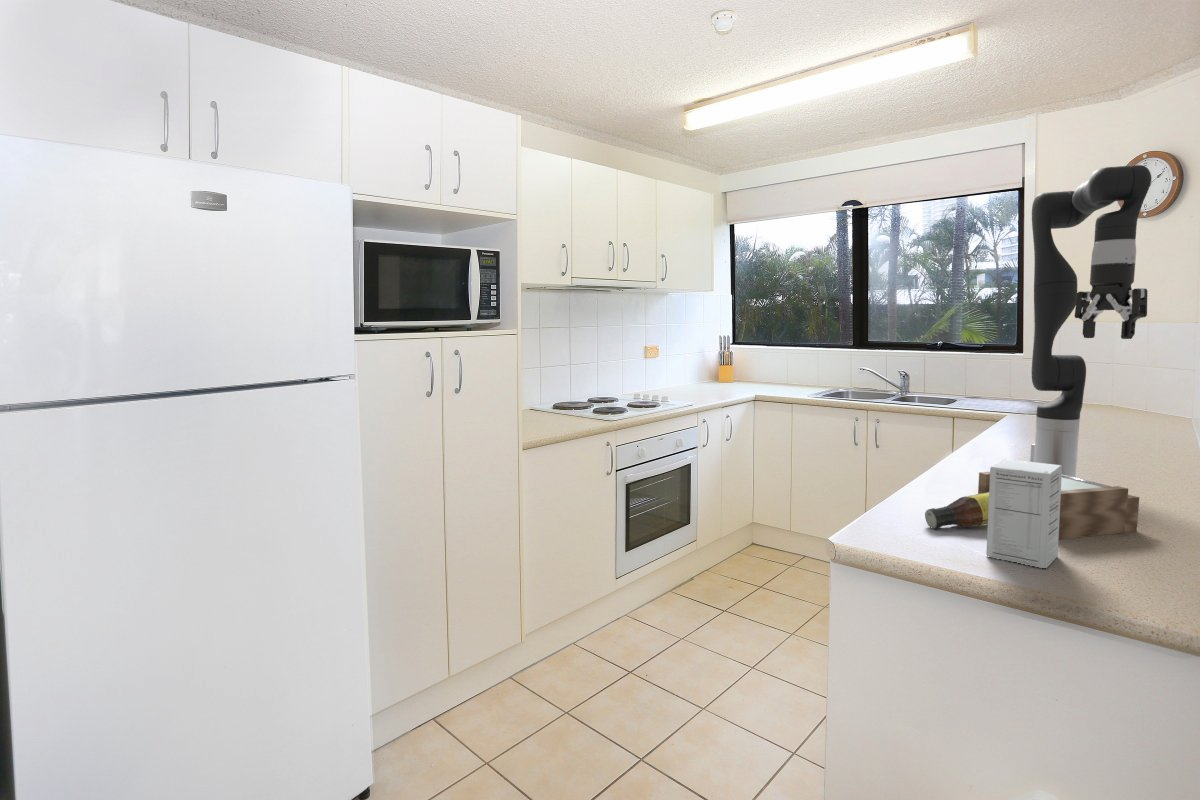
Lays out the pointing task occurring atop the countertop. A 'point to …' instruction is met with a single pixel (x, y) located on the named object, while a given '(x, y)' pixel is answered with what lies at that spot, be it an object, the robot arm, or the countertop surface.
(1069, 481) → the trapdoor
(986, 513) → the sauce bottle
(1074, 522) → the frame
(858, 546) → the countertop surface
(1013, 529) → the supplement box
